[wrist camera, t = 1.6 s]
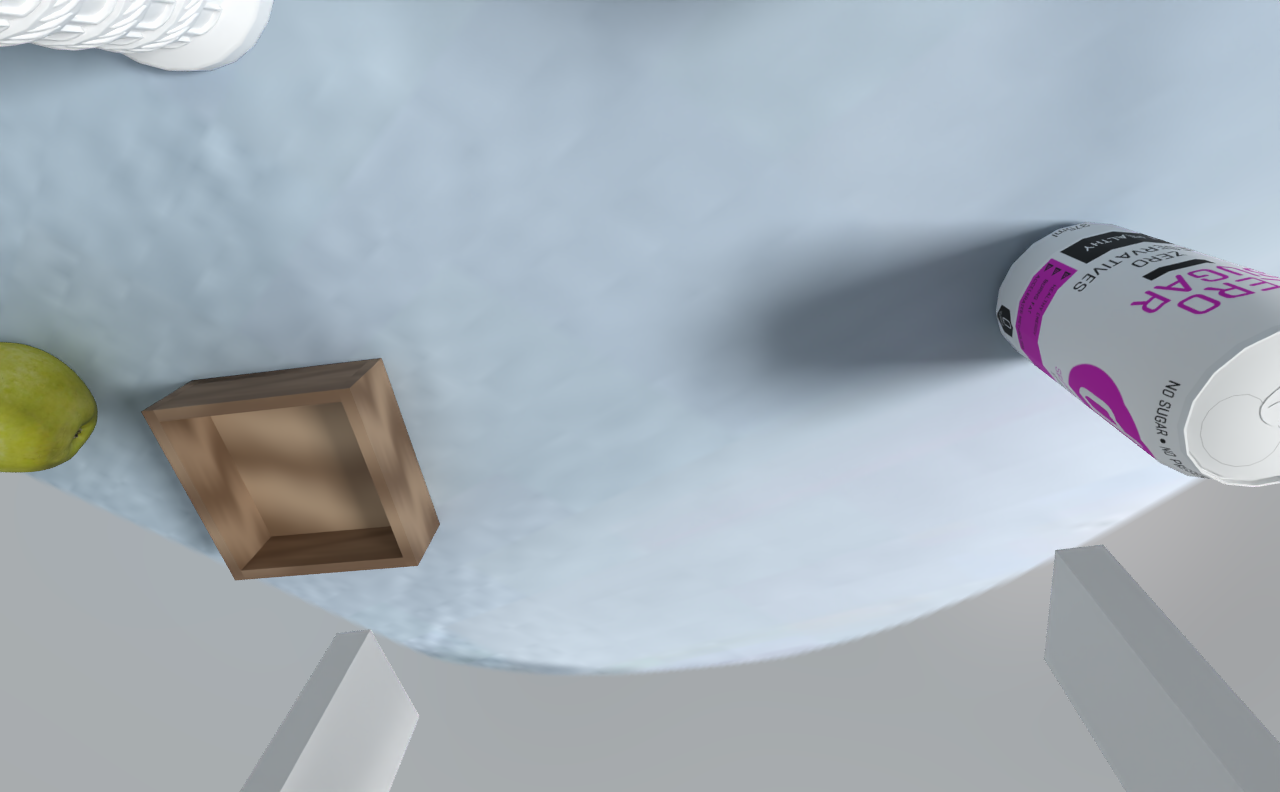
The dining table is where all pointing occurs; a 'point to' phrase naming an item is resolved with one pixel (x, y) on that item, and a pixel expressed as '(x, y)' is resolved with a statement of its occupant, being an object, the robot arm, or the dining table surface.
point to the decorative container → (141, 28)
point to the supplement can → (1156, 345)
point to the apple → (40, 410)
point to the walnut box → (299, 469)
